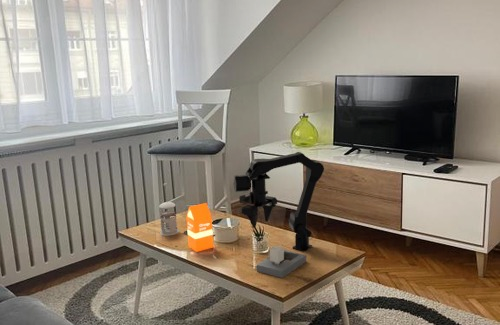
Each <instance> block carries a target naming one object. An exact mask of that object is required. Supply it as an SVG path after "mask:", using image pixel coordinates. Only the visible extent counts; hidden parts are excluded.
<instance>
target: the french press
mask: <svg viewBox="0 0 500 325" xmlns="http://www.w3.org/2000/svg"><path fill="white" fill-rule="evenodd" d="M163 187H165V188H167V187H168V183H167V182H166V183H165V182H164V183H163ZM165 195H166V196H165V197H166V200H168V196H167V192H165ZM158 207H159V210H158V213H159V214H158V215H159V218H160V228H161V231H160V232H159V234H160V235H161V236H166V237H169V236H175V235H177V234H179V233H180V230H179V229H178V222H177V214H176V212H175V211H173V210H169V209H172V208H175V207H176V203H174V202H172V201H165V202H163V203H160V205H159V206H158ZM160 210H161V211H160ZM164 210H165V211H164ZM160 212H161V213H160Z"/></svg>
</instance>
